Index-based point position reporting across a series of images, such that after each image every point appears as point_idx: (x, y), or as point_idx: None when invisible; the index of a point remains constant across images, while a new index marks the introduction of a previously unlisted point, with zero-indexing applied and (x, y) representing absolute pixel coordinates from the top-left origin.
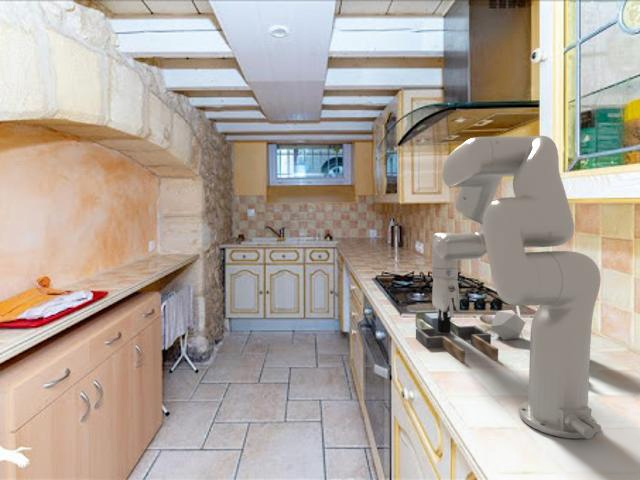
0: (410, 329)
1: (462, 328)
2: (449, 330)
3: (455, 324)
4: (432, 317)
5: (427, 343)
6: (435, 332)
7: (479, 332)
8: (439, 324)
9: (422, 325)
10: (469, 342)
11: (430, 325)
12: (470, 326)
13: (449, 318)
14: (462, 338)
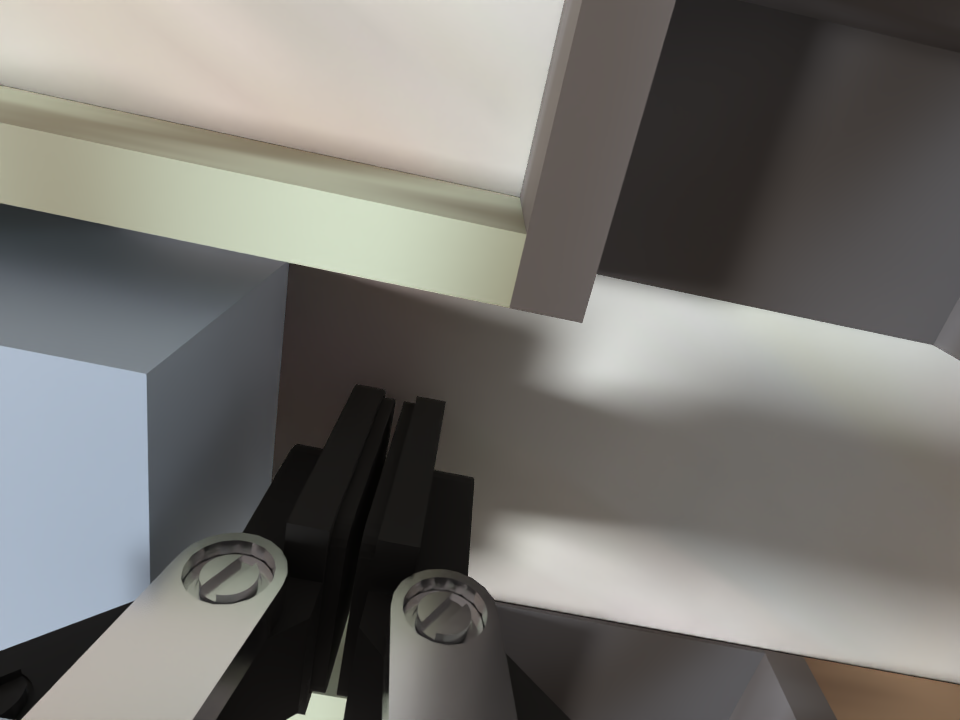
0: None
1: (594, 255)
2: (440, 418)
3: (340, 262)
4: None
5: None
6: (267, 484)
7: (956, 9)
8: (347, 618)
9: None
10: (860, 307)
11: None
12: (627, 6)
13: (525, 684)
14: (651, 279)
